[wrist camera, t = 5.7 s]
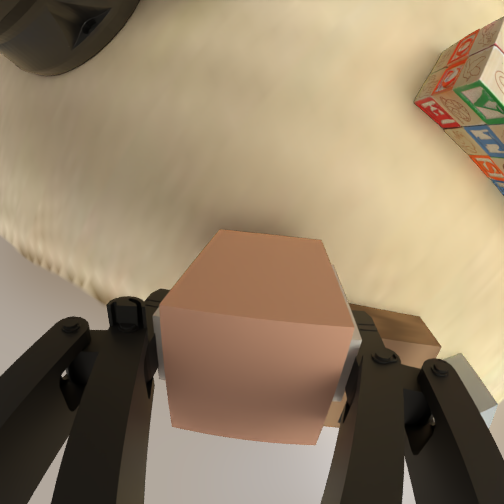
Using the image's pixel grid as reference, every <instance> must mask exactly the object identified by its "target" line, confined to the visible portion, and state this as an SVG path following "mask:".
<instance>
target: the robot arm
mask: <svg viewBox="0 0 504 504" xmlns="http://www.w3.org/2000/svg"><path fill="white" fill-rule="evenodd" d="M138 2H139V0H0V52H1V53H2V54H3V55H4V56H5V57H7V58H8V59H9V60H10V61H12V62H13V63H14V64H15V65H16V66H18V67H19V68H20V69H22V70H24V71H27V72H31V73H35V74H40V75H45V76H52V75H58V74H61V73H65V72H67V71H69V70H72V69H74V68H76V67H77V66H79V65H81V64H82V63H84V62H85V61H87V60H88V59H90V58H91V57H92V56H94V55H95V54H96V53H97V52H99V51H100V50H101V49H102V48H103V47H104V46H105V45H106V44H107V43H108V42H109V41H110V40H111V39H112V38H113V37H114V36H115V35H116V34H117V33H118V31H119V30H120V29H121V28H122V27H123V25H124V24H125V23H126V21H127V20H128V18H129V17H130V15H131V14H132V12H133V11H134V9H135V7H136V5H137V4H138ZM332 268H333V270H334V273H335V276H336V278H337V281H338V283H339V286H340V289H341V291H342V294H343V297H344V299H345V302H346V305H347V307H348V310H349V313H350V316H351V318H352V321H353V324H354V327H355V329H354V332H353V336H352V339H351V343H350V346H349V350H348V353H347V357H346V360H345V363H344V366H343V370H342V373H341V376H340V379H339V382H338V385H337V388H336V391H335V394H334V397H333V400H332V401H339V402H341V401H342V398H343V395H344V392H346V397H347V401H346V403H345V406H344V408H343V411H342V413H341V416H340V418H339V420H338V423H340V428H339V433H338V437H337V442H336V446H335V451H334V455H333V459H332V463H331V467H330V472H329V475H328V479H327V483H326V486H325V490H324V494H323V497H322V501H321V504H402V495H403V479H404V456H405V459H406V463H407V467H408V471H409V475H410V479H411V484H412V488H413V492H414V497H415V501H416V504H504V460H503V458H502V455H501V453H500V451H499V449H498V447H497V445H496V443H495V441H494V439H493V437H492V435H491V433H490V431H489V429H488V427H487V425H486V423H485V421H484V419H483V417H482V416H481V414H480V412H479V410H478V408H477V406H476V405H475V403H474V401H473V399H472V397H471V396H470V394H469V392H468V390H467V389H466V387H465V385H464V384H463V382H462V380H461V378H460V377H459V375H458V373H457V372H456V370H455V369H454V368H453V366H452V365H451V364H449V363H448V362H446V361H444V360H442V359H435V358H432V359H427V360H426V361H424V363H423V365H422V367H421V369H420V368H415V367H411V366H407V365H403V364H401V360H400V357H399V356H398V355H397V354H396V353H395V352H394V351H392V350H390V349H388V348H385V345H384V343H383V341H382V339H381V336H380V334H379V332H378V330H377V328H376V326H375V323H374V321H373V319H372V317H371V316H370V315H368V314H367V313H366V312H365V311H357V310H351V309H350V306H349V303H348V301H347V298H346V295H345V293H344V290H343V288H342V285H341V283H340V280H339V277H338V275H337V272H336V270H335V267H334V265H332ZM169 291H170V290H166V289H159V290H157V291H155V292H153V293H151V294H150V296H149V297H148V298H147V299H146V300H145V301H143V300H142V299H139V298H137V297H131V296H127V297H119V298H115V299H113V300H111V301H110V302H109V303H108V304H107V311H108V318H109V324H110V327H109V329H108V330H90V329H89V324H88V322H87V321H86V320H85V319H83V318H81V317H67V318H65V319H62V320H60V321H59V322H57V323H56V324H55V325H54V326H53V327H52V328H50V330H48V331H47V332H46V333H45V334H44V335H43V336H42V337H41V338H40V339H39V340H37V341H36V342H35V343H34V344H33V345H32V346H31V347H30V348H29V349H28V350H27V351H26V352H25V353H24V354H23V355H22V356H21V357H20V358H18V359H17V360H16V361H15V362H14V364H13V365H11V366H10V367H9V368H8V369H7V370H6V371H5V372H4V374H2V375H1V376H0V504H27V503H28V502H29V500H30V498H31V496H32V495H33V493H34V491H35V489H36V488H37V486H38V484H39V483H40V481H41V480H42V478H43V476H44V475H45V473H46V471H47V470H48V468H49V466H50V465H51V463H52V461H53V460H54V458H55V457H56V455H57V453H58V452H59V450H60V449H61V447H62V445H63V444H64V442H65V441H66V439H67V438H68V436H69V438H68V441H67V445H66V448H65V451H64V455H63V458H62V462H61V465H60V469H59V473H58V477H57V481H56V485H55V489H54V493H53V498H52V502H51V504H144V491H145V475H146V460H147V447H148V438H149V429H150V418H151V410H152V402H153V394H154V386H155V385H154V378H153V376H154V374H155V372H156V370H157V368H158V373H159V379H162V380H166V379H165V370H164V360H163V350H162V338H161V326H160V311H159V304H160V303H161V302H162V300H163V299H164V298H165V297H166V295H167V294H168V293H169ZM65 370H66V373H67V374H66V375H65V376H64V377H63V378H62V376H61V375H62V373H63V372H64V371H65ZM433 418H434V420H433ZM434 421H435V422H434Z"/></svg>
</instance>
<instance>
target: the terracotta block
mask: <svg viewBox="0 0 504 504" xmlns="http://www.w3.org/2000/svg"><path fill="white" fill-rule="evenodd" d="M159 311H160V326H161V338H162V350H163V360H164V370H165V379H166V387H167V395H168V402H169V409H170V416H171V423H172V427H176V428H180V429H185V430H190V431H195V432H200V433H205V434H211V435H217V436H223V437H229V438H237V439H244V440H252V441H261V442H271V443H283V444H300V445H316V443H317V440H318V437H319V435H320V433H321V430H322V427H323V425H324V422H325V419H326V417H327V414H328V411H329V408H330V406H331V403H332V400H333V397H334V394H335V391H336V388H337V385H338V382H339V379H340V376H341V373H342V370H343V366H344V363H345V360H346V357H347V353H348V350H349V346H350V343H351V339H352V336H353V332H354V329H355V327H354V324H353V321H352V318H351V316H350V313H349V310H348V307H347V305H346V302H345V299H344V297H343V294H342V291H341V289H340V286H339V283H338V281H337V278H336V276H335V273H334V270H333V268H332V265H331V263H330V260H329V258H328V255H327V253H326V250H325V248H324V245H323V243H322V241H321V240H316V239H307V238H298V237H289V236H280V235H270V234H261V233H251V232H241V231H231V230H221V229H220V230H219V231H218V232H217V233H216V234H215V236H214V237H213V238H212V239H211V241H210V242H209V243H208V244H207V245H206V247H205V248H204V249H203V250H202V252H201V253H200V254H199V255H198V256H197V258H196V259H195V260H194V261H193V263H192V264H191V265H190V266H189V268H188V269H187V270H186V271H185V273H184V274H183V275H182V276H181V278H180V279H179V280H178V281H177V283H176V284H175V285H174V286H173V288H172V289H171V290H170V291H169V293H168V294H167V295H166V297H165V298H164V299H163V300H162V302H161V303H160V304H159Z"/></svg>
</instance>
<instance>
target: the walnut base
mask: <svg viewBox="0 0 504 504" xmlns="http://www.w3.org/2000/svg"><path fill="white" fill-rule="evenodd" d="M349 306H350V309H351V310H357V311H365V312H366V313H367V314H368V315H370V316H371V317H372V319H373V321H374V323H375V326H376V328H377V330H378V332H379V334H380V336H381V339H382V341H383V343H384V345H385V348H388V349H390V350H392V351H394V352H395V353H396V354H397V355H398V356H399V357H400V360H401V364H403V365H407V366H411V367H415V368H420V369H421V367H422V365H423V363H424V361H426V360H427V359H432V358H436V357H437V355H438V353H439V351H440V349H441V345H440V344H439V343H438V341H437V340H436V338H435V337H434V336H433V334H432V333H431V332H430V330H429V329H428V327H427V326H426V325H425V323H424V322H423V321H422V319H421V318H420V317H418V316H413V315H407V314H402V313H397V312H391V311H386V310H381V309H376V308H371V307H365V306H360V305H355V304H350V303H349ZM346 401H347V397H346V392H344V395H343V398H342V401H341V402H339V401H332V403H331V406H330V408H329V411H328V414H327V417H326V419H325V422H324V425H323V426H328V427H338V428H340V423H338V420H339V418H340V416H341V413H342V411H343V408H344V406H345V403H346Z"/></svg>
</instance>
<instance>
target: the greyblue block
mask: <svg viewBox="0 0 504 504" xmlns="http://www.w3.org/2000/svg"><path fill="white" fill-rule="evenodd" d="M444 361H446V362H448V363H449V364H451V365H452V366H453V368H454V369H455V370H456V372H457V373H458V375H459V377H460V378H461V380H462V382H463V384H464V385H465V387H466V389H467V390H468V392H469V394H470V396H471V397H472V399H473V401H474V403H475V405H476V406H477V408H478V410H479V412H480V414H481V416H482V417H483V419H484V421H485V423H486V425H487V427H488V429H489V428H490V425H491V422H492V420H493V417H494V414H495V411H496V408H497V406H498V404H497V402H496V401H495V399H494V398H493V396H492V395H491V394H490V392H489V391H488V389H487V388H486V386H485V385H484V383H483V382H482V380H481V379H480V378H479V376H478V375H477V373H476V372H475V371H474V369H473V368H472V367H471V365H470V364H469V362H468V361H467V360H466V358H465V357H464V356H463V354H462V353H460V354H457V355H455V356H452V357H449V358H447V359H444ZM433 420H434V418H433ZM434 422H435V421H434Z"/></svg>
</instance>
